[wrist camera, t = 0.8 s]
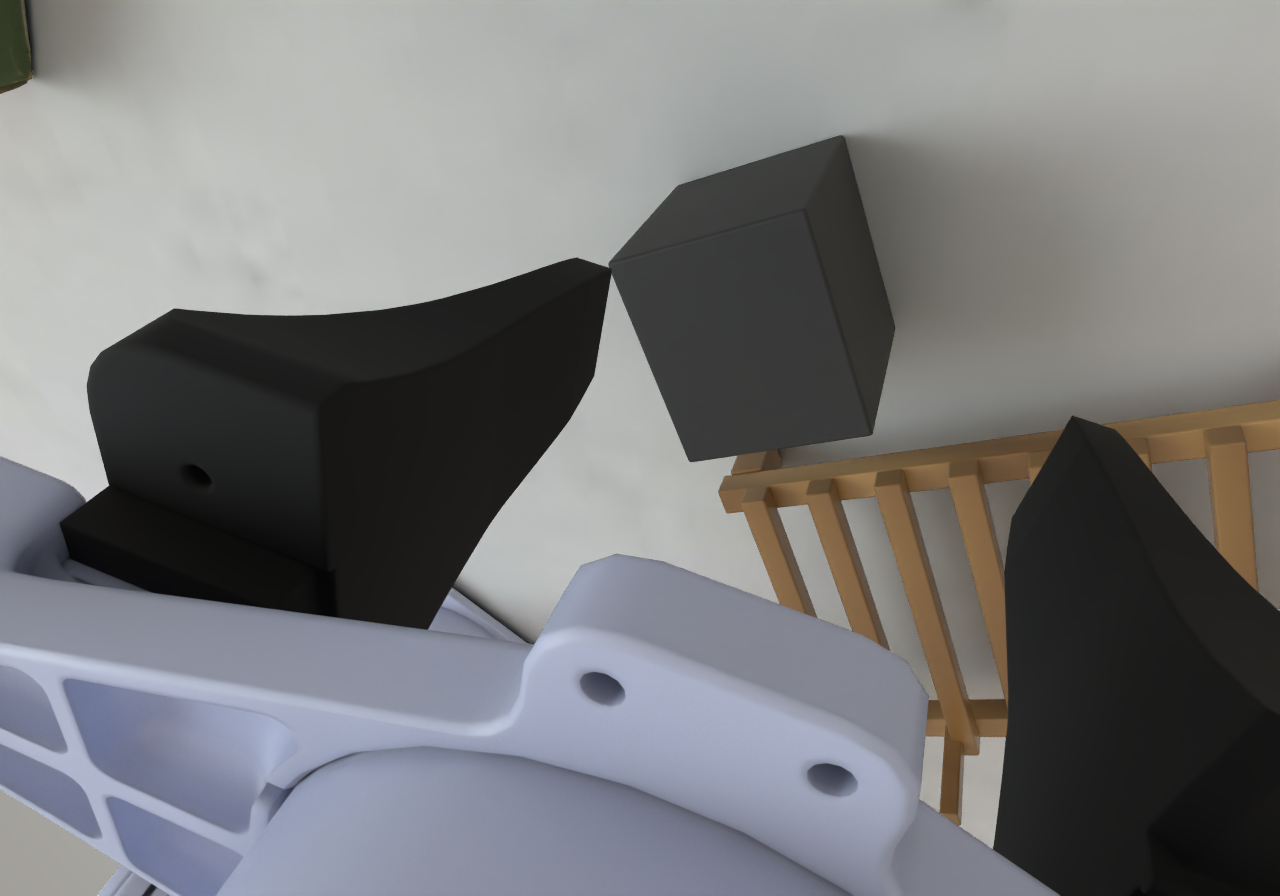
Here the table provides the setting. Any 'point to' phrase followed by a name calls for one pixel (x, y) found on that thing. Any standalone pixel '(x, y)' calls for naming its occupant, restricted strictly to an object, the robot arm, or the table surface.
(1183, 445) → the dish rack
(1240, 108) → the table surface
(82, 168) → the table surface
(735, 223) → the black box
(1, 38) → the carton
